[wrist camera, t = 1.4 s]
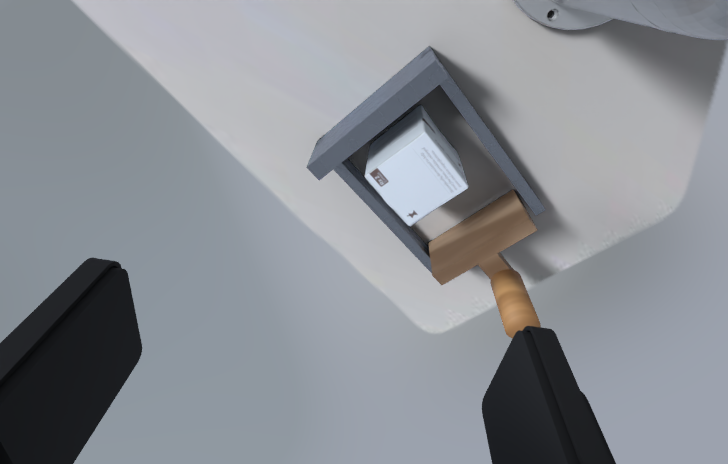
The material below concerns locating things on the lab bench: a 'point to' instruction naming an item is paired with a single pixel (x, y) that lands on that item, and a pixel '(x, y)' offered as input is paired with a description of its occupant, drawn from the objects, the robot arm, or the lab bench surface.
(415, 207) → the skincare box
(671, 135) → the lab bench surface
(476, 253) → the sliding jaw
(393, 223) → the clamp frame
